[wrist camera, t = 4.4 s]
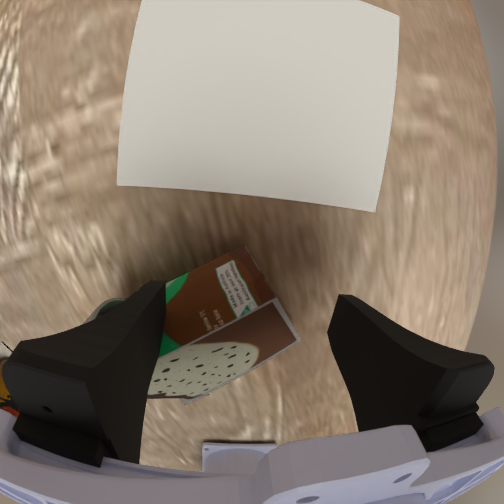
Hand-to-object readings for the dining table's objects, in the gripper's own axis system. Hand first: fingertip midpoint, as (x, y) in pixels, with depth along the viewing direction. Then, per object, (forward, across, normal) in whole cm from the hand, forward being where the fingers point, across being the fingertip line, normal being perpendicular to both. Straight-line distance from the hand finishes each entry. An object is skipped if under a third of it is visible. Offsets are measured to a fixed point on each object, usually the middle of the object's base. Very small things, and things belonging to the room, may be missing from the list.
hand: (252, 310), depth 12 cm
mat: (+7, 0, -10) cm, 12 cm away
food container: (+5, -1, +1) cm, 5 cm away
